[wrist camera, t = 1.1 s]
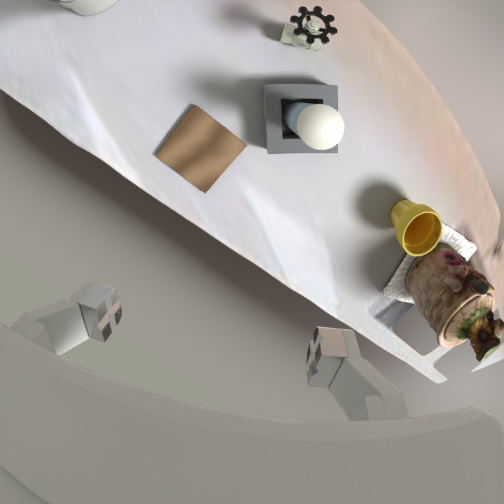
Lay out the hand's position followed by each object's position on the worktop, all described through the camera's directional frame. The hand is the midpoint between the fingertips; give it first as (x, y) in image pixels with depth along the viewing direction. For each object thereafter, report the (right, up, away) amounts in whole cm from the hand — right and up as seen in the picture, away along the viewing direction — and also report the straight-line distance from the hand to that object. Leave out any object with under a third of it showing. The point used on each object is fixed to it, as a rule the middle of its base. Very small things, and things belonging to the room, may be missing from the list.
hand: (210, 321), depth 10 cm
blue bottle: (+10, +27, +34) cm, 44 cm away
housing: (+10, +27, +34) cm, 44 cm away
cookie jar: (+50, -1, +52) cm, 72 cm away
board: (-8, +22, +37) cm, 43 cm away
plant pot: (+35, +11, +44) cm, 57 cm away
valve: (+10, +40, +26) cm, 48 cm away
